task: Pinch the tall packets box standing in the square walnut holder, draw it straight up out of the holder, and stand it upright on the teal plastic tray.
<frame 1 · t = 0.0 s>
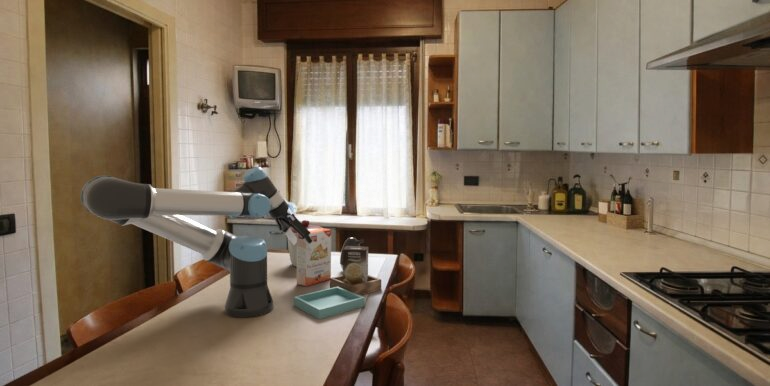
hand: (304, 245, 169), 15 cm above the table, tool tilted 35°, fingers open, 13 cm apart
holder: (355, 288, 164), on the table
coffee box: (355, 289, 164), resting in holder
tray: (329, 305, 145), on the table
canister: (305, 265, 199), on the table
cracker box: (314, 282, 173), on the table
pump dispenser: (351, 271, 189), on the table
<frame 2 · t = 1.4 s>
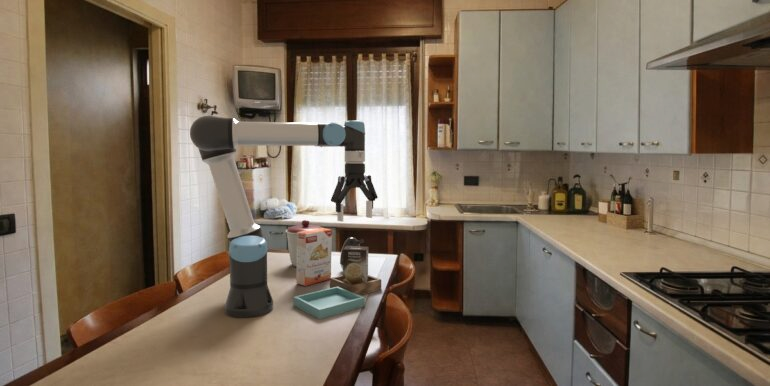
hand: (355, 219, 162), 27 cm above the table, tool pointing down, fingers open, 13 cm apart
nothing on the table moved.
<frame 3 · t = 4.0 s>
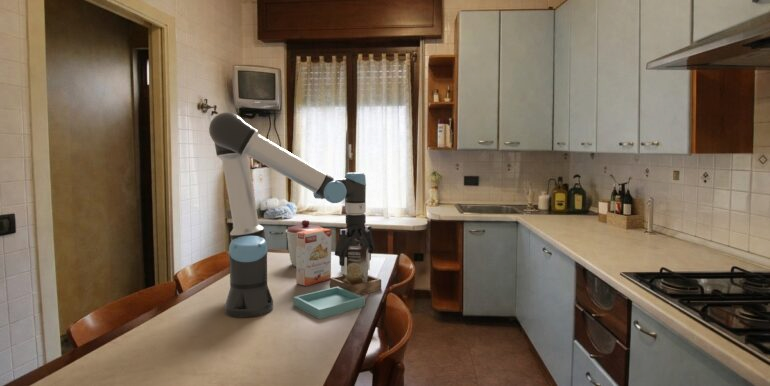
hand: (355, 271, 163), 7 cm above the table, tool pointing down, fingers closed on coffee box, 10 cm apart
coffee box: (355, 289, 164), resting in holder, touching gripper
everything else where it was.
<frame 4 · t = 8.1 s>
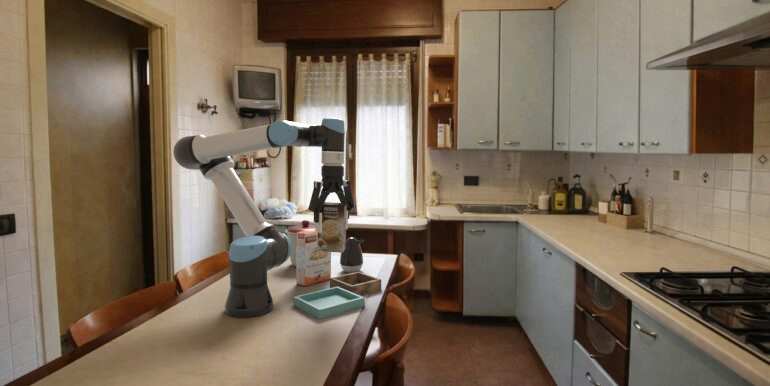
hand: (331, 230, 146), 25 cm above the table, tool pointing down, fingers closed on coffee box, 10 cm apart
coffee box: (331, 250, 146), point 18 cm above the table, touching gripper
everything else where it was.
when the fingers open (9 cm above the table, at t = 12.5 s): coffee box drops 1 cm, resting on tray.
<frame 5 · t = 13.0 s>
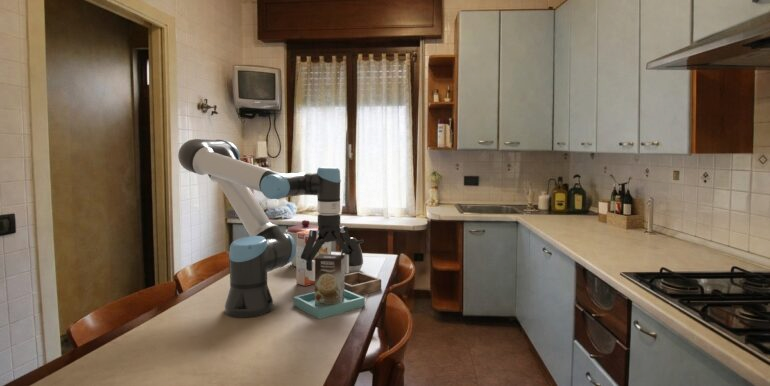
hand: (329, 276, 145), 10 cm above the table, tool pointing down, fingers open, 13 cm apart
coffee box: (329, 303, 146), point 1 cm above the table, touching tray
everything else where it was.
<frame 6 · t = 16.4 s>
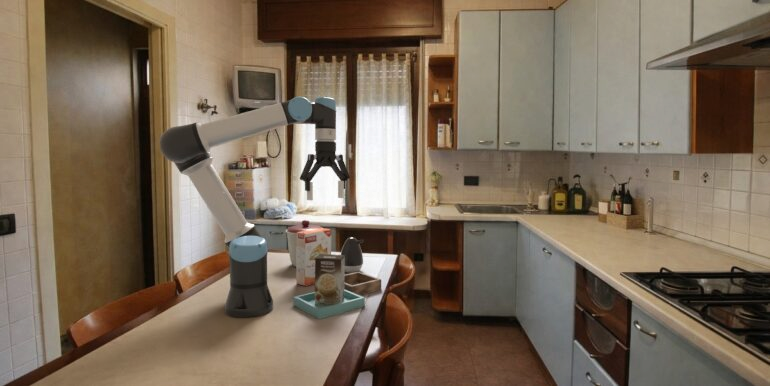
hand: (325, 199, 158), 35 cm above the table, tool pointing down, fingers open, 13 cm apart
nothing on the table moved.
at the end: coffee box inside the target area on the tray (0.3 cm from its centre), point 0.8 cm above the tray's base; coffee box tilted 0°; the gripper is holding nothing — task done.
